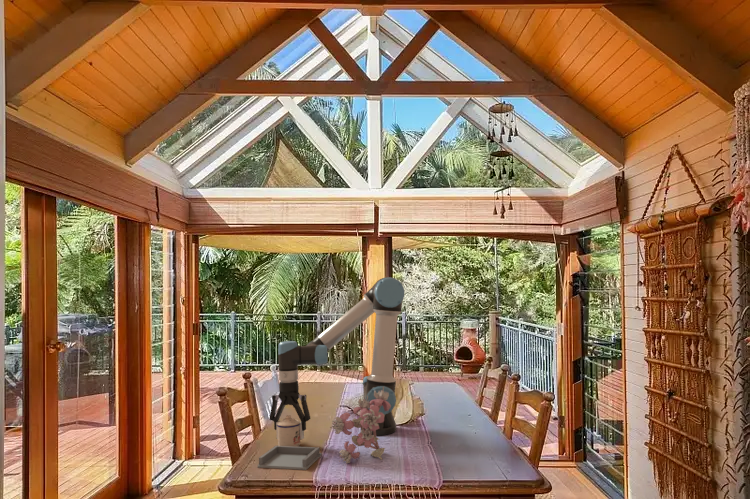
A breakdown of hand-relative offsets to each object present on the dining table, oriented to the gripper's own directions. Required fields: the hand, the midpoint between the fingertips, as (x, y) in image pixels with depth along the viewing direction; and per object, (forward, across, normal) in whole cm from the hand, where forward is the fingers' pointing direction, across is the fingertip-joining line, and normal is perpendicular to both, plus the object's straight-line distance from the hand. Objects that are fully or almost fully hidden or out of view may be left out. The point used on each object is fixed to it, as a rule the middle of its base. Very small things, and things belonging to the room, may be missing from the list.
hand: (290, 438), depth 222 cm
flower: (+3, +33, -14) cm, 36 cm away
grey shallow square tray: (+2, +8, -19) cm, 21 cm away
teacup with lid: (+3, 0, 0) cm, 3 cm away
